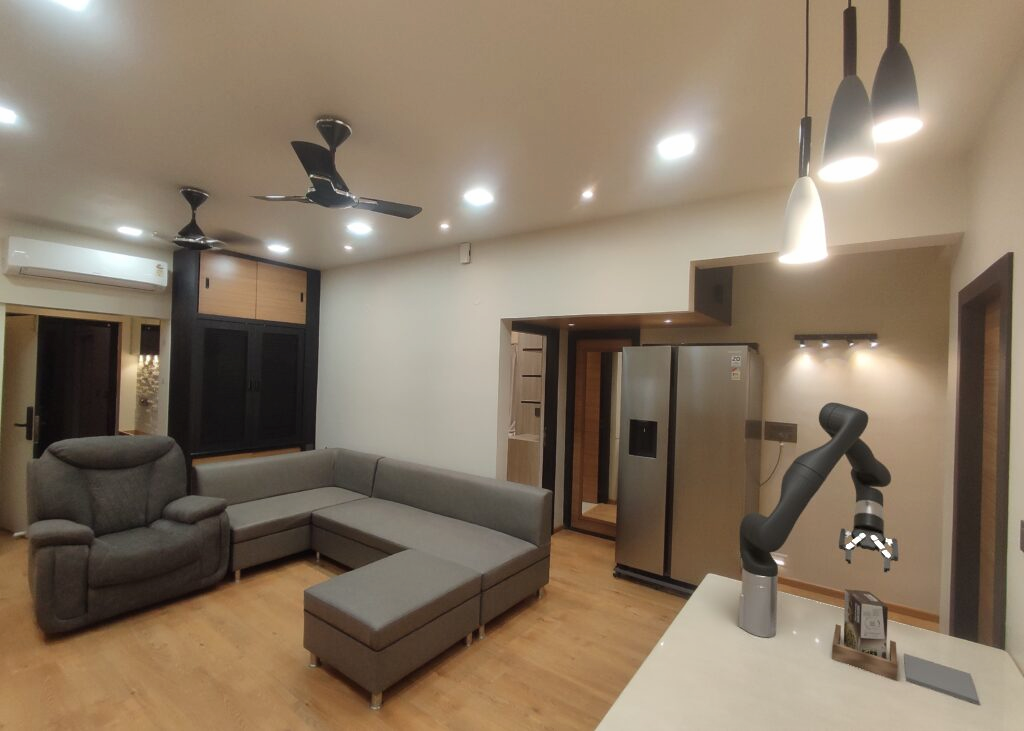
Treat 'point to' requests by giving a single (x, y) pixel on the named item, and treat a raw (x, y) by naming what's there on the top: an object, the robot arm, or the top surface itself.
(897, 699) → the top surface
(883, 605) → the coffee box
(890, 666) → the walnut holder
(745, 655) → the top surface
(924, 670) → the charcoal mat
